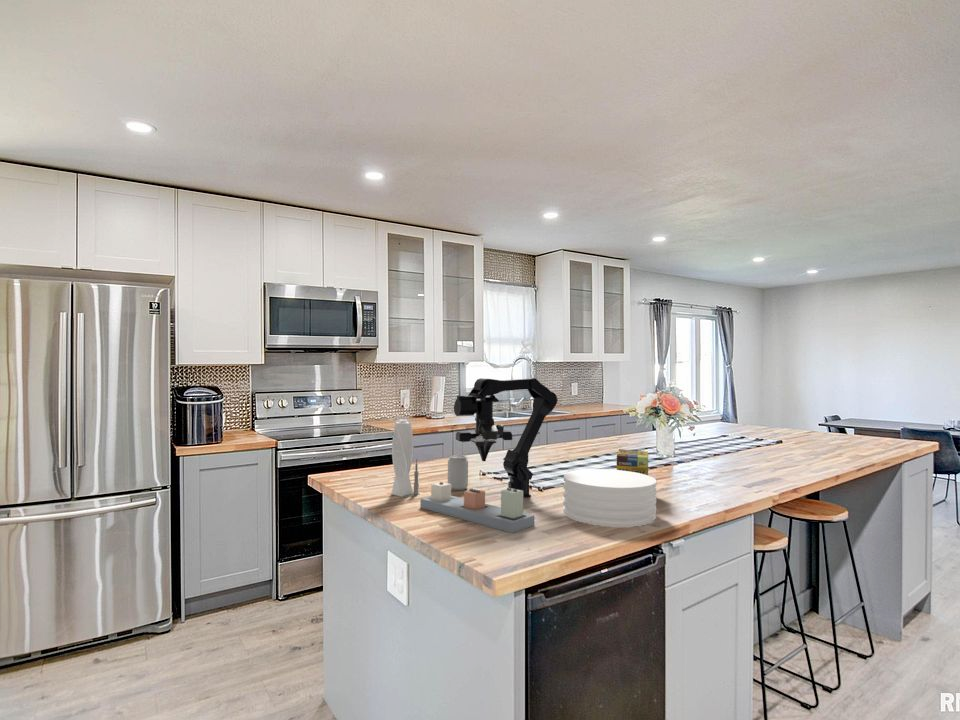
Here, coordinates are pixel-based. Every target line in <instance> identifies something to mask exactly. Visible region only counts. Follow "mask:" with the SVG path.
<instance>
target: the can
mask: <svg viewBox="0 0 960 720" xmlns="http://www.w3.org/2000/svg"><path fill="white" fill-rule="evenodd" d="M447 483H448V484H451V491H464V490H465V491H466V488H468V486H469V460H468V459H467V456H466V455H463V454H462V455H461V454H456V455H450V456H449V458H448V459H447Z"/></svg>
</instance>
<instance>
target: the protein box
mask: <svg viewBox="0 0 960 720" xmlns="http://www.w3.org/2000/svg"><path fill="white" fill-rule="evenodd" d="M615 470H622V471H630V472H636V473H641V474H645V475H648V476H649V451H648V450H646V451H645V450H635V449H634V450H633V449H621V448H620V449H618V451H617V454H616V469H615Z"/></svg>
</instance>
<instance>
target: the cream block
mask: <svg viewBox="0 0 960 720" xmlns="http://www.w3.org/2000/svg"><path fill="white" fill-rule="evenodd" d="M430 489H431V490H430V496H431V500H435V501H439V502H443V501H447V500H451V496H452V490H451V484H448V482H445V481H443V482H442V481H439V482H435V483H431V488H430Z"/></svg>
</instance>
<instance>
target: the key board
mask: <svg viewBox="0 0 960 720" xmlns="http://www.w3.org/2000/svg"><path fill="white" fill-rule="evenodd" d="M419 506H420V508H421V509H424V510H428V511H432V512H434V513H439V514H441V515H442V514H443V515H446V516H450V517H454V518H457V519H460V520H464V521H468V522H472V523H475V524H478V525H482V526H486V527H490V528H492V529H496V530H499V531H505V532H507V533H511V534H513V533H516V532H519V531H523V530H526V529H528V528H531V527H533V526H535V515H533V514H530V513H525V512H523V516H519V517H516V518H509V517H505V516H501V506H496V505H492V504H489V503H485V508H483V509H480V510H476V511H474V510H470V509H466V508H464V497H459V496H455V495H451V500H447V501H443V502H439V501H435V500H431V495H430V496H428V497H427V496H426V497H423V498H420V505H419Z"/></svg>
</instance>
